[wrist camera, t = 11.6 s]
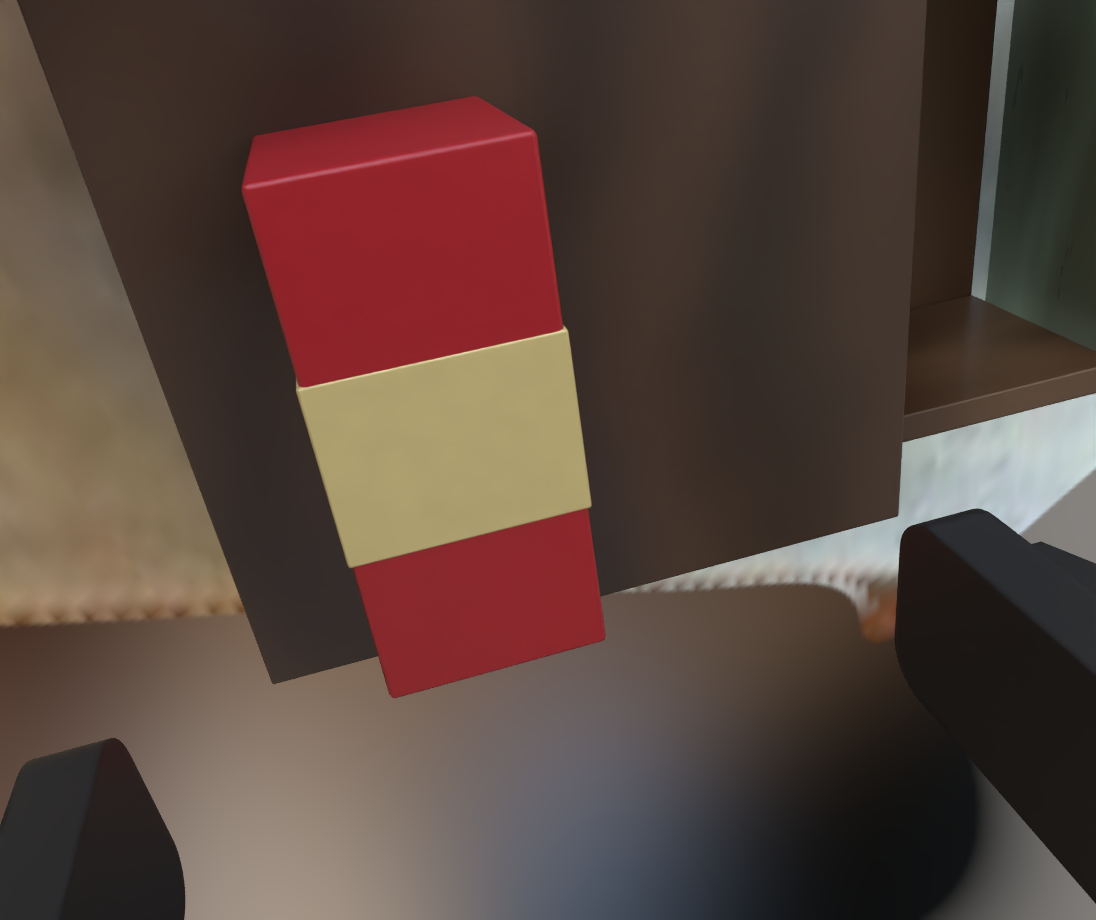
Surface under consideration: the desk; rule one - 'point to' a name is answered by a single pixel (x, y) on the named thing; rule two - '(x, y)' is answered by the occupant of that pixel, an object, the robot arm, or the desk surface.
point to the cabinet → (578, 247)
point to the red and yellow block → (434, 380)
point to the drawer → (1004, 218)
